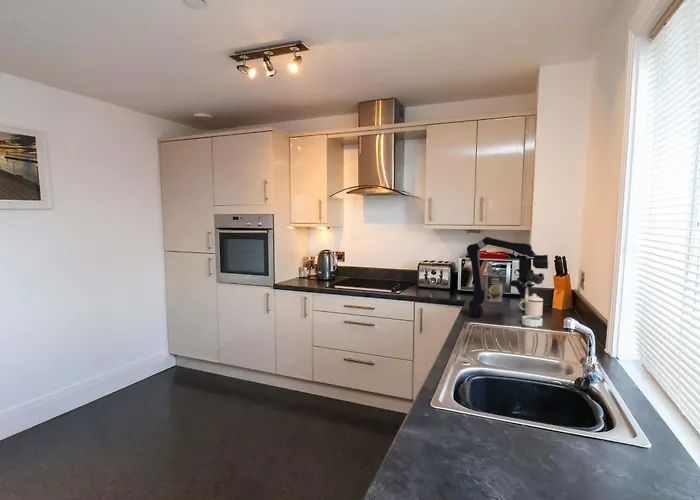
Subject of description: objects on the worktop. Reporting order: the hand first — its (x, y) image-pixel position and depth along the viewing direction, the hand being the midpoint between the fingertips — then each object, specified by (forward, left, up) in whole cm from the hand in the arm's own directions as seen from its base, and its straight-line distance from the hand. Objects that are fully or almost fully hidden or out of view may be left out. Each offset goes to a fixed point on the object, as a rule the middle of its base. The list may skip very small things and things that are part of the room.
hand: (524, 298), depth 189 cm
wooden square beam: (0, 0, -2) cm, 2 cm away
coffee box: (-36, +34, -13) cm, 51 cm away
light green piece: (+4, +1, -13) cm, 13 cm away
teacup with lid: (-5, +19, -13) cm, 23 cm away
